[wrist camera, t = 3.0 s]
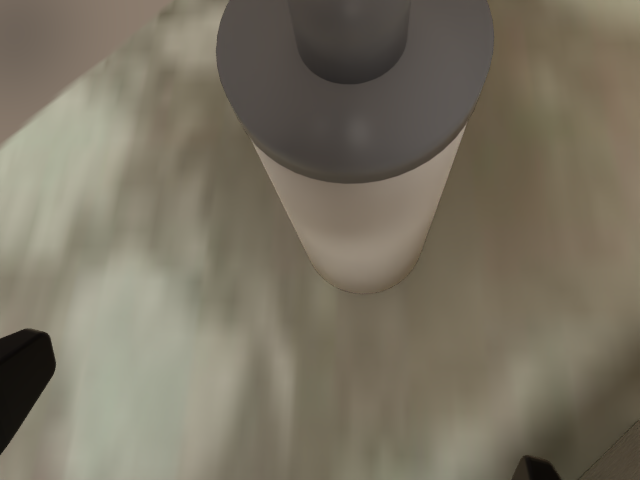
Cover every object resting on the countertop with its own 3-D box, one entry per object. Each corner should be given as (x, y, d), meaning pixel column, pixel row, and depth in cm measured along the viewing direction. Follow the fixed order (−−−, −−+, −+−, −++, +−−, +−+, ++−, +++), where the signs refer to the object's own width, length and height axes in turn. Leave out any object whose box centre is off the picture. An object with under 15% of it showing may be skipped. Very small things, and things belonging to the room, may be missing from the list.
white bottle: (358, 320, 23) (329, 177, 7) (280, 232, 24) (117, -43, 9) (449, 240, 23) (600, -51, 8) (367, 158, 25) (360, -219, 9)
